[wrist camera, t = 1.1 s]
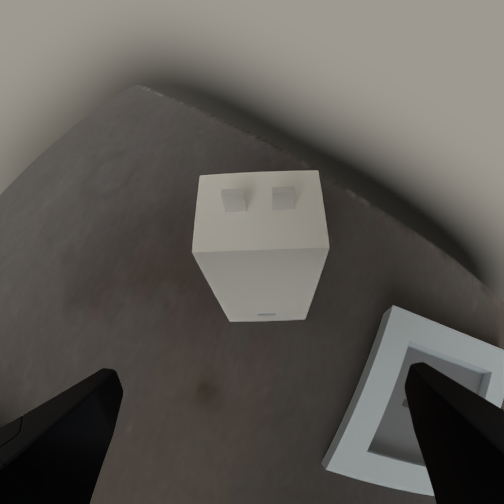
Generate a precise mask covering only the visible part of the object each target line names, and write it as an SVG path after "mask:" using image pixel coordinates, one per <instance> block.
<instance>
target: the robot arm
mask: <svg viewBox="0 0 504 504" xmlns="http://www.w3.org/2000/svg"><path fill="white" fill-rule="evenodd" d="M404 388H405V394H406V398H407V402H408V406H409V411H410V415H411V420H412V424H413V428H414V432H415V435H416V438H417V441H418V444H419V447H420V450H421V453H422V456H423V459H424V462H425V465H426V469H427V472H428V475H429V478H430V482H431V485H432V489H433V492H434V495H435V499H436V503H437V504H504V411H503V409H501V408H499V407H498V406H496V405H494V404H493V403H491V402H489V401H488V400H486V399H484V398H483V397H481V396H479V395H478V394H476V393H474V392H473V391H471V390H469V389H468V388H466V387H464V386H463V385H461V384H459V383H458V382H456V381H454V380H453V379H451V378H449V377H448V376H446V375H444V374H443V373H441V372H439V371H438V370H436V369H434V368H433V367H431V366H429V365H428V364H426V363H424V362H418V363H413V364H411V365H410V367H409V371H408V374H407V378H406V381H405V386H404ZM122 397H123V389H122V386H121V383H120V380H119V378H118V375H117V372H116V371H115V370H113V369H107V368H103V369H101V370H99V371H98V372H96V373H94V374H93V375H91V376H89V377H88V378H86V379H84V380H83V381H81V382H79V383H77V384H76V385H74V386H72V387H71V388H69V389H67V390H66V391H64V392H62V393H61V394H59V395H57V396H55V397H54V398H52V399H50V400H49V401H47V402H45V403H43V404H42V405H40V406H38V407H37V408H35V409H33V410H31V411H30V412H28V413H26V414H24V415H23V416H21V417H19V418H17V419H16V420H14V421H12V422H10V423H8V424H7V425H5V426H3V427H1V428H0V504H90V500H91V497H92V494H93V491H94V488H95V485H96V482H97V479H98V476H99V473H100V470H101V467H102V464H103V461H104V459H105V456H106V453H107V450H108V447H109V444H110V442H111V439H112V436H113V433H114V429H115V425H116V421H117V417H118V413H119V409H120V405H121V401H122Z"/></svg>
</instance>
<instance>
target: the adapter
mask: <svg viewBox="0 0 504 504" xmlns="http://www.w3.org/2000/svg"><path fill="white" fill-rule="evenodd" d="M329 248H330V247H329V239H328V232H327V224H326V217H325V210H324V204H323V197H322V191H321V184H320V178H319V172H318V170H310V171H271V172H248V173H230V174H214V175H201V176H200V178H199V187H198V195H197V205H196V214H195V224H194V234H193V245H192V254H193V256H194V257H195V259H196V261H197V263H198V265H199V267H200V269H201V271H202V272H203V274H204V276H205V278H206V280H207V282H208V283H209V285H210V287H211V289H212V291H213V293H214V294H215V296H216V298H217V300H218V302H219V303H220V305H221V307H222V309H223V311H224V312H225V314H226V316H227V318H228V319H229V321H230V322H248V321H284V320H305V319H306V316H307V313H308V310H309V307H310V305H311V302H312V299H313V296H314V293H315V290H316V287H317V284H318V281H319V278H320V275H321V272H322V269H323V266H324V263H325V260H326V257H327V254H328V251H329Z"/></svg>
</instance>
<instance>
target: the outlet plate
mask: <svg viewBox="0 0 504 504" xmlns="http://www.w3.org/2000/svg"><path fill="white" fill-rule="evenodd" d="M418 362H424V363H426V364H428V365H429V366H431V367H433V368H434V369H436V370H438V371H439V372H441V373H443V374H444V375H446V376H448V377H449V378H451V379H453V380H454V381H456V382H458V383H459V384H461V385H463V386H464V387H466V388H468V389H469V390H471V391H473V392H474V393H476V394H478V395H479V396H481V397H483V398H484V399H486V400H488V401H489V402H491V403H493V404H494V405H496V406H498V407H499V408H501V405H502V402H503V398H504V350H503V349H500V348H498V347H496V346H493V345H491V344H488V343H486V342H483V341H481V340H478V339H476V338H473V337H471V336H469V335H466V334H464V333H461V332H459V331H456V330H454V329H451V328H449V327H446V326H444V325H441V324H439V323H437V322H434V321H432V320H429V319H427V318H424V317H422V316H419V315H417V314H414V313H412V312H409V311H407V310H404V309H402V308H399V307H397V306H395V305H393V306H391V307H390V308H389V309H388V310H387V311H386V312H385V313H384V314H383V317H382V320H381V323H380V326H379V329H378V332H377V335H376V338H375V340H374V343H373V346H372V349H371V351H370V354H369V357H368V360H367V362H366V365H365V367H364V370H363V373H362V375H361V378H360V380H359V383H358V385H357V387H356V390H355V392H354V395H353V397H352V399H351V402H350V404H349V406H348V408H347V411H346V413H345V415H344V417H343V420H342V422H341V424H340V426H339V428H338V430H337V432H336V434H335V436H334V439H333V441H332V443H331V445H330V447H329V449H328V451H327V453H326V455H325V456H324V458H323V460H322V462H321V464H322V465H323V467H324V468H325V469H326V470H329V471H332V472H335V473H338V474H341V475H345V476H348V477H351V478H355V479H358V480H362V481H366V482H369V483H373V484H377V485H381V486H386V487H390V488H394V489H399V490H404V491H409V492H414V493H419V494H425V495H431V496H435V495H434V492H433V489H432V485H431V482H430V478H429V475H428V472H427V469H426V465H425V462H424V459H423V456H422V453H421V450H420V447H419V444H418V441H417V438H416V435H415V432H414V428H413V424H412V420H411V415H410V411H409V406H408V402H407V398H406V394H405V388H404V386H405V381H406V378H407V374H408V371H409V367H410V365H411V364H413V363H418Z"/></svg>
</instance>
